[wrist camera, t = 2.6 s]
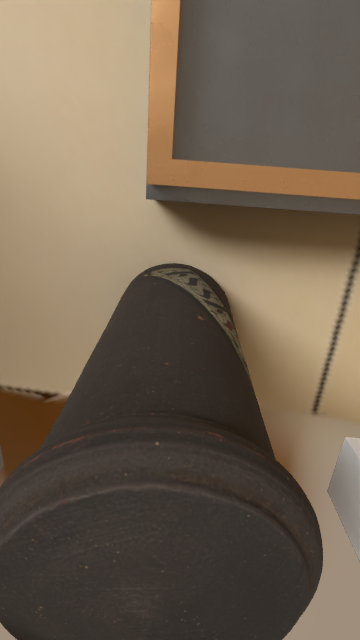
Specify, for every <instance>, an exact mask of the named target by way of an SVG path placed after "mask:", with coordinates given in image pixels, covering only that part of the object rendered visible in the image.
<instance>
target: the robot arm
mask: <svg viewBox="0 0 360 640" xmlns="http://www.w3.org/2000/svg"><path fill="white" fill-rule="evenodd" d="M3 466H4V465H3V459H2V453H1V448H0V471H1V469H2V468H3ZM328 493H329V496H330V498H331V500H332V502H333V504H334V506H335V508H336V511H337V513H338V515H339V517H340V519H341V522H342V524H343V526H344V528H345V530H346V533H347V535H348V537H349V539H350V541H351V543H352V545H353V548H354V550H355V552H356V554H357V556H358V558H359V561H360V438H354V437H345V439H344V442H343V445H342V448H341V451H340V454H339V457H338V460H337V463H336V466H335V469H334V472H333V475H332V478H331V482H330V485H329V488H328Z"/></svg>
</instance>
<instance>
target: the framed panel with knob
mask: <svg viewBox="0 0 360 640" xmlns="http://www.w3.org/2000/svg"><path fill="white" fill-rule="evenodd" d="M146 199H151V200H165V201H179V202H192V203H206V204H220V205H233V206H247V207H261V208H274V209H288V210H302V211H316V212H329V213H343V214H357V215H360V0H151V35H150V73H149V111H148V149H147V187H146Z"/></svg>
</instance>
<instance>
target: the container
mask: <svg viewBox="0 0 360 640" xmlns="http://www.w3.org/2000/svg"><path fill="white" fill-rule="evenodd" d="M322 562H323V548H322V539H321V533H320V529H319V524H318V521H317V517H316V514H315V512H314V510H313V508H312V506H311V503H310V502H309V500H308V498H307V497H306V495H305V493H304V491H303V490H302V488H301V487H300V485H299V484H298V483H297V481H296V480H295V479H294V478H293V476H292V475H291V474H290V473H289V472H288V471H287V470H286V469H285V468H284V467H283V466H282V465H281V464H280V463H279V462H277V461H276V460H275V457H274V453H273V450H272V447H271V444H270V441H269V438H268V434H267V432H266V428H265V425H264V422H263V418H262V416H261V412H260V408H259V405H258V402H257V399H256V396H255V393H254V389H253V386H252V382H251V379H250V375H249V372H248V368H247V365H246V362H245V358H244V355H243V352H242V349H241V345H240V342H239V339H238V335H237V332H236V329H235V325H234V322H233V318H232V314H231V311H230V307H229V304H228V301H227V298H226V296H225V293H224V291H223V290H222V289H221V288H220V286H219V285H218V284H217V282H216V281H215V280H214V279H213V278H211V277H210V276H209V275H208V274H206V273H204V272H203V271H201V270H199V269H197V268H194V267H192V266H188V265H184V264H174V263H173V264H163V265H158V266H154V267H152V268H149V269H147V270H145V271H143V272H142V273H141V274H139V275H138V276H137V277H136V278H135V279H134V280H133V281H132V282H131V283H130V285H129V286H128V288H127V289H126V291H125V292H124V294H123V296H122V298H121V300H120V301H119V303H118V305H117V307H116V309H115V311H114V313H113V315H112V317H111V319H110V321H109V323H108V325H107V327H106V328H105V330H104V332H103V334H102V336H101V338H100V339H99V341H98V343H97V345H96V347H95V349H94V351H93V353H92V354H91V356H90V358H89V360H88V362H87V364H86V366H85V367H84V369H83V372H82V374H81V375H80V377H79V379H78V381H77V383H76V385H75V387H74V389H73V391H72V393H71V394H70V396H69V398H68V400H67V402H66V404H65V406H64V407H63V409H62V411H61V413H60V414H59V416H58V418H57V420H56V422H55V423H54V425H53V427H52V428H51V430H50V432H49V434H48V436H47V438H46V439H45V441H44V443H43V445H42V447H41V448H40V449H39V450H38V451H37V452H35V453H34V454H32V455H31V456H30V457H28V458H27V459H26V460H25V461H23V462H22V463H21V464H20V465H19V466H18V467H17V468H16V469H15V470H14V471H13V472H12V473H11V474H10V475H9V476H8V478H7V479H6V480H5V481H4V483H3V484H2V485H1V487H0V622H1V624H2V625H3V626H4V628H5V629H7V631H8V632H9V633H10V634H11V635H13V636H14V637H15V638H16V639H17V640H282V639H283V638H284V637H285V636H286V635H287V634H288V633H289V632H290V630H291V629H292V627H293V626H294V625H295V624H296V622H297V621H298V619H299V617H300V616H301V615H302V614H303V612H304V611H305V609H306V608H307V606H308V605H309V603H310V602H311V600H312V598H313V596H314V594H315V592H316V590H317V587H318V583H319V580H320V576H321V572H322V566H323V565H322V564H323V563H322Z"/></svg>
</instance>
